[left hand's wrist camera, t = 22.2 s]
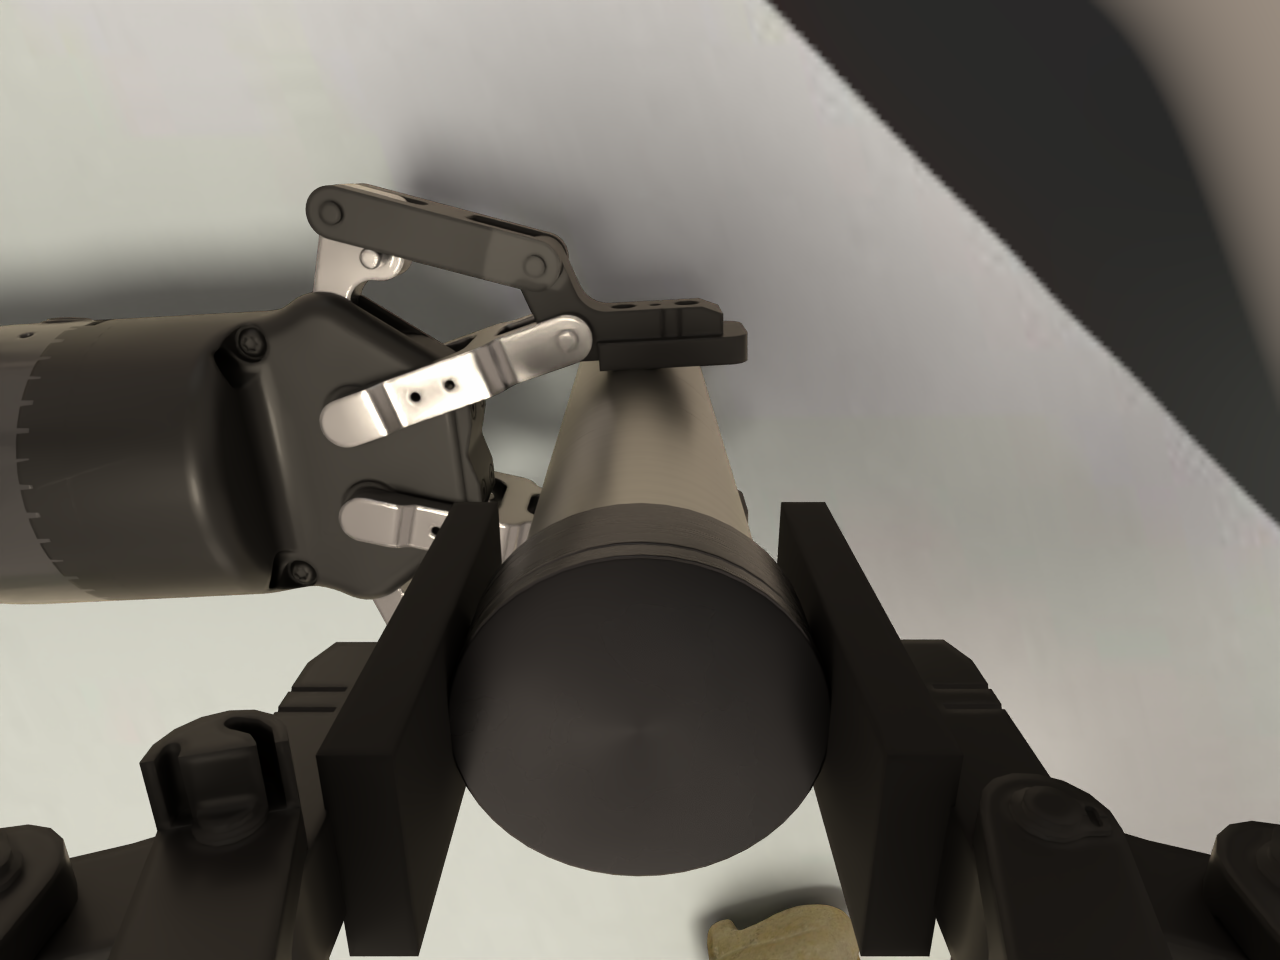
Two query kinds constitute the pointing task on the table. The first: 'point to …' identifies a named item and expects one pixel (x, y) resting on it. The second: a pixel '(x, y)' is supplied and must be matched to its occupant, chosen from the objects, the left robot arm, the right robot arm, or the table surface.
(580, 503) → the cylinder
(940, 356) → the table surface
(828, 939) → the sculpture
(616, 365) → the right robot arm
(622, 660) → the lid
